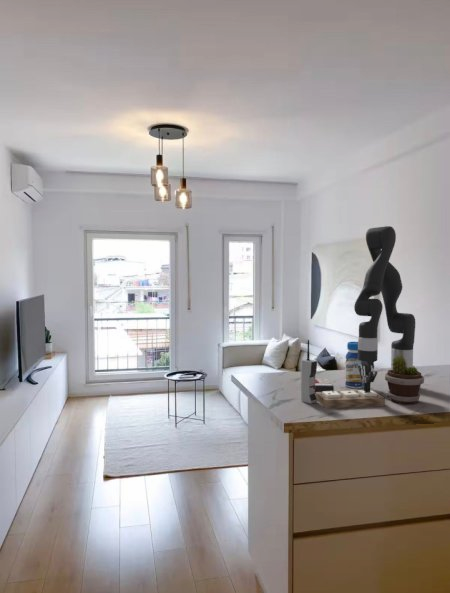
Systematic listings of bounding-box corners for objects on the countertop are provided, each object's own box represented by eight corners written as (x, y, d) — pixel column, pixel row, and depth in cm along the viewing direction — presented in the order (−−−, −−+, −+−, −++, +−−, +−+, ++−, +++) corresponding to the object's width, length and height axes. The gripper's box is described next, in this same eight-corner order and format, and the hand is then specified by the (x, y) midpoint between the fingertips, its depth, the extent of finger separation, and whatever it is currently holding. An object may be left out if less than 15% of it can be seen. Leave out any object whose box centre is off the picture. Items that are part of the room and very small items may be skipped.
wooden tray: (371, 397, 191) (371, 390, 191) (384, 405, 179) (385, 397, 179) (315, 399, 188) (315, 392, 188) (325, 408, 176) (325, 400, 176)
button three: (370, 395, 188) (370, 389, 187) (376, 399, 182) (376, 392, 182) (357, 396, 187) (357, 389, 187) (363, 399, 181) (363, 393, 181)
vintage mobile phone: (311, 404, 181) (311, 341, 180) (301, 401, 185) (301, 339, 184) (317, 402, 184) (317, 340, 182) (307, 399, 188) (307, 338, 186)
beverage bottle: (368, 387, 208) (368, 343, 207) (355, 389, 203) (355, 344, 202) (353, 383, 215) (354, 340, 214) (340, 385, 210) (341, 342, 209)
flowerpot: (401, 394, 196) (402, 347, 195) (432, 403, 182) (433, 353, 181) (376, 398, 189) (376, 350, 188) (406, 408, 175) (407, 356, 174)
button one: (353, 396, 187) (353, 390, 186) (358, 400, 181) (358, 393, 181) (340, 396, 186) (340, 390, 186) (345, 400, 180) (345, 394, 180)
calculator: (327, 378, 211) (333, 384, 196) (327, 387, 211) (333, 394, 196) (303, 377, 212) (307, 384, 197) (303, 387, 212) (307, 394, 197)
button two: (335, 396, 186) (335, 390, 186) (340, 400, 180) (340, 394, 180) (322, 397, 185) (322, 391, 185) (326, 401, 179) (327, 394, 179)
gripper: (384, 351, 177) (383, 395, 178) (369, 345, 190) (368, 387, 191) (365, 351, 176) (365, 396, 177) (351, 346, 189) (351, 387, 190)
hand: (366, 391), depth 184 cm, fingers closed
